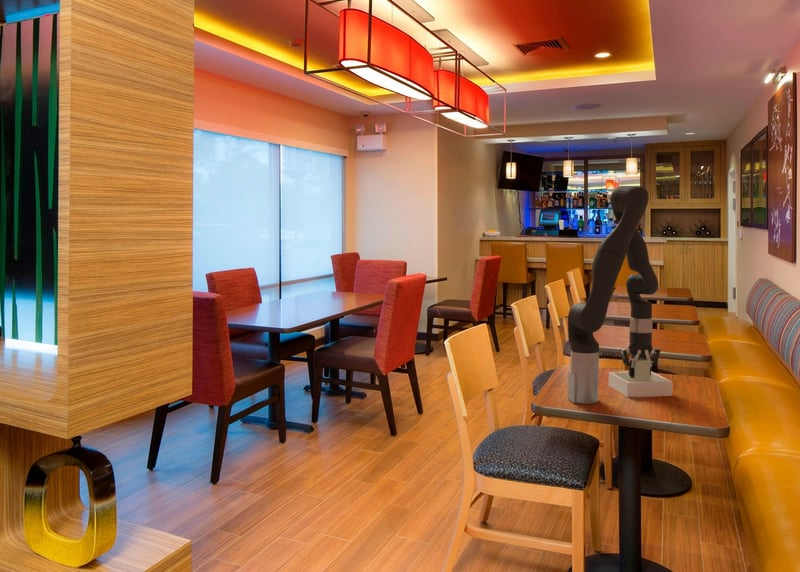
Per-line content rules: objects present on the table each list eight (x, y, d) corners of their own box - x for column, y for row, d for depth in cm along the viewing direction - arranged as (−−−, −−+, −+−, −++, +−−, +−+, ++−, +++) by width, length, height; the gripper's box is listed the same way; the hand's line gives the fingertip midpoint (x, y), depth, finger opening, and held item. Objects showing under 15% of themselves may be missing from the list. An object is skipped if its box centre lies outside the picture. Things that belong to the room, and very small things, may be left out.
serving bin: (627, 397, 212) (627, 382, 211) (608, 385, 228) (608, 372, 227) (672, 395, 213) (672, 381, 212) (650, 384, 229) (650, 371, 228)
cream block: (635, 382, 217) (636, 360, 216) (629, 379, 222) (630, 357, 221) (649, 382, 217) (650, 360, 217) (643, 379, 222) (643, 357, 222)
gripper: (625, 332, 214) (624, 380, 215) (665, 331, 215) (664, 379, 216) (616, 329, 221) (615, 375, 223) (655, 328, 222) (654, 374, 224)
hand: (639, 376), depth 220 cm, fingers closed on cream block, 5 cm apart
